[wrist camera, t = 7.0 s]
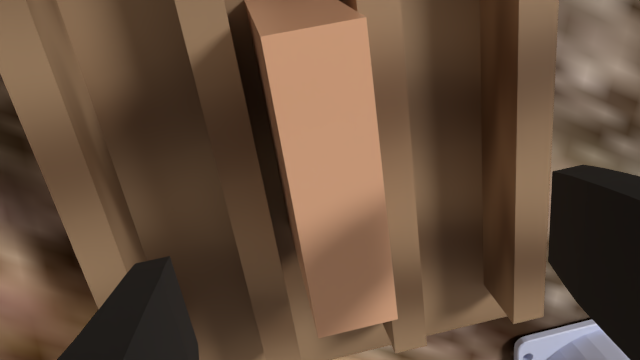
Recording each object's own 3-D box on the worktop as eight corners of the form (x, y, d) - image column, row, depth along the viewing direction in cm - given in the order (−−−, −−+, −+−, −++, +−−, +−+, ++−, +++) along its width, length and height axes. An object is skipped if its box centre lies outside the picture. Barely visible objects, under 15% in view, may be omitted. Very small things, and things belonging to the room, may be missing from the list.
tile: (348, 213, 20) (397, 319, 15) (289, 226, 20) (318, 338, 14) (315, -14, 16) (366, 17, 11) (243, -1, 16) (260, 36, 11)
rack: (501, 303, 24) (541, 355, 21) (165, 386, 23) (158, 454, 20) (504, -341, 15) (578, -407, 12) (-82, -270, 13) (-166, -325, 10)
